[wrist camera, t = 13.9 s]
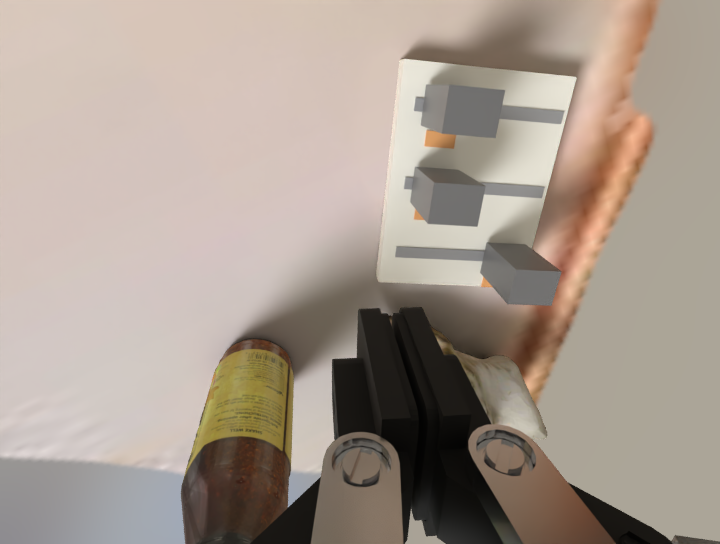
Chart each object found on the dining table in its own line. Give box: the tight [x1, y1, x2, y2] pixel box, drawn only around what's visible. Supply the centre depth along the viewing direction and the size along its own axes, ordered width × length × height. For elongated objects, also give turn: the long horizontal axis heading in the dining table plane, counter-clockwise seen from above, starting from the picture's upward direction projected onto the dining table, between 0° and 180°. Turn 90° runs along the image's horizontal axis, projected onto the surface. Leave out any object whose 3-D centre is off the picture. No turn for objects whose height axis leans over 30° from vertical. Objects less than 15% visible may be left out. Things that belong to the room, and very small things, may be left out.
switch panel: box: [376, 59, 577, 287], centre depth 30 cm, size 15×11×2 cm
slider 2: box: [410, 167, 486, 227], centre depth 27 cm, size 2×3×5 cm
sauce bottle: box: [181, 339, 294, 544], centre depth 27 cm, size 6×6×20 cm
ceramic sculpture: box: [389, 316, 547, 439], centre depth 34 cm, size 11×9×15 cm
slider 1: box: [421, 84, 505, 138], centre depth 25 cm, size 2×3×5 cm
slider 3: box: [480, 242, 561, 305], centre depth 29 cm, size 2×3×5 cm
